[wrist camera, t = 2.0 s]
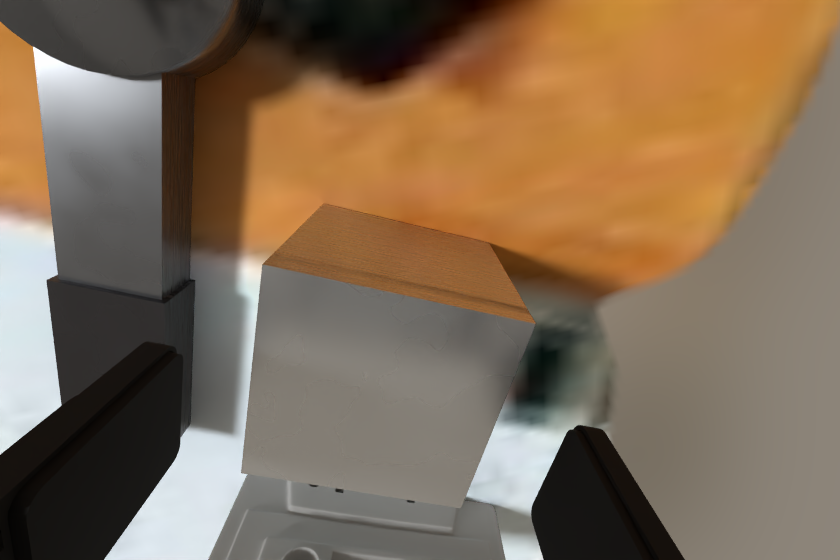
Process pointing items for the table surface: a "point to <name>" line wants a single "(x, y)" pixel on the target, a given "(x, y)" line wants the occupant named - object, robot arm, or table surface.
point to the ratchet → (122, 167)
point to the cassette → (351, 526)
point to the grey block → (380, 358)
